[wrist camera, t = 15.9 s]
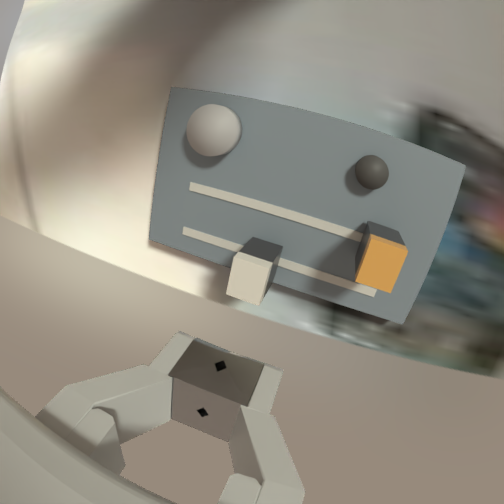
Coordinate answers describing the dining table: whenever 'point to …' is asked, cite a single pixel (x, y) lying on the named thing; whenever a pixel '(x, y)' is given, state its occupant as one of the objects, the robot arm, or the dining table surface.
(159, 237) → the console
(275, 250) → the fader white
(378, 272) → the fader orange
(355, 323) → the dining table surface
